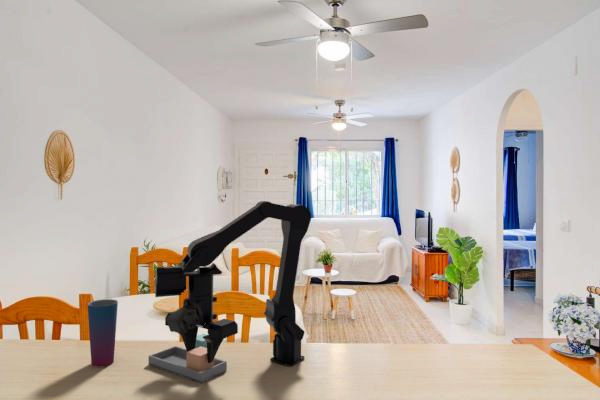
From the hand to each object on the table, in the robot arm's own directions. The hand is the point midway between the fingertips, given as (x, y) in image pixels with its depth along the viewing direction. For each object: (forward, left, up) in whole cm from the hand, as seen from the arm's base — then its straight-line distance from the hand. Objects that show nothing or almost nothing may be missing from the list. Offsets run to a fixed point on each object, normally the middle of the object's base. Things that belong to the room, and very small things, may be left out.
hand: (200, 359), depth 104 cm
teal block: (+8, -8, -3) cm, 12 cm away
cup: (+24, +10, -3) cm, 26 cm away
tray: (+5, 0, -3) cm, 5 cm away
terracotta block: (0, 0, -2) cm, 2 cm away
